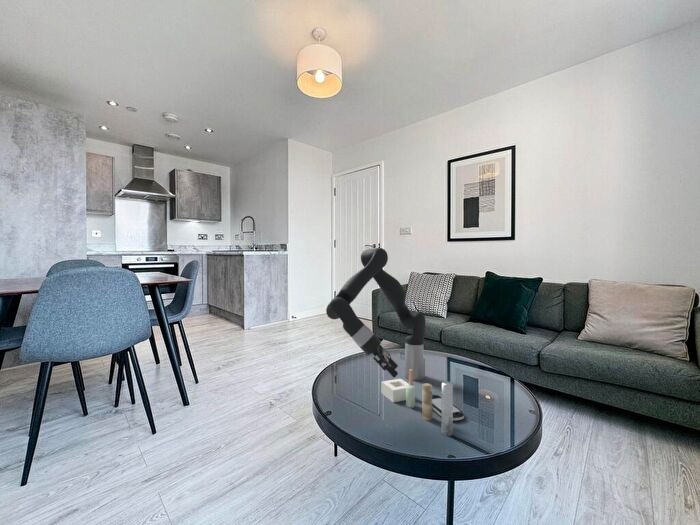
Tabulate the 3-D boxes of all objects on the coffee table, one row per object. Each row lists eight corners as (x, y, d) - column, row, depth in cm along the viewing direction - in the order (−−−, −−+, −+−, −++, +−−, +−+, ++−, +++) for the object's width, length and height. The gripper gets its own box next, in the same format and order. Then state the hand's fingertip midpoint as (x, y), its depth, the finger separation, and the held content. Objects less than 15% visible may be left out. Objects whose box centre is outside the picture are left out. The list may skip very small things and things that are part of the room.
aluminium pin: (447, 428, 100) (447, 380, 101) (455, 434, 97) (455, 384, 97) (439, 431, 99) (439, 382, 99) (446, 436, 95) (446, 386, 96)
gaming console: (420, 401, 122) (420, 395, 122) (439, 398, 125) (439, 392, 125) (447, 424, 104) (447, 417, 104) (469, 421, 106) (468, 414, 106)
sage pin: (411, 403, 119) (411, 384, 120) (416, 406, 116) (417, 387, 116) (404, 404, 118) (404, 385, 118) (409, 408, 115) (409, 389, 115)
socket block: (400, 389, 133) (400, 363, 133) (413, 398, 124) (413, 370, 124) (381, 393, 129) (381, 365, 129) (393, 402, 120) (393, 373, 120)
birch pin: (427, 414, 110) (428, 382, 110) (434, 419, 106) (434, 386, 107) (420, 416, 108) (420, 384, 109) (426, 421, 105) (426, 387, 105)
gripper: (371, 337, 104) (403, 371, 102) (374, 329, 118) (402, 359, 116) (356, 351, 105) (388, 385, 103) (361, 341, 119) (389, 371, 117)
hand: (396, 371), depth 110 cm, fingers open, 8 cm apart
